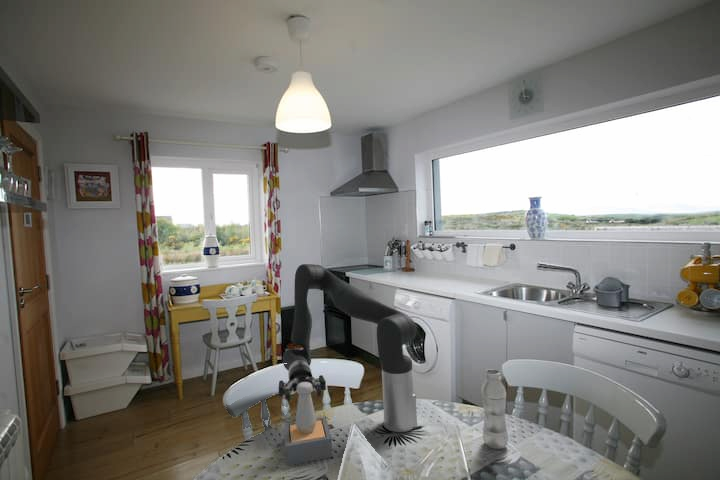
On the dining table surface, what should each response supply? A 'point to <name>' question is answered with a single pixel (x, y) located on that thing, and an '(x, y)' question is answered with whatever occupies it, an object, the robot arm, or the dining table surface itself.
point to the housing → (308, 446)
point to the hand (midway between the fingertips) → (303, 395)
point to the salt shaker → (305, 409)
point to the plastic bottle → (494, 411)
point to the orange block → (297, 436)
